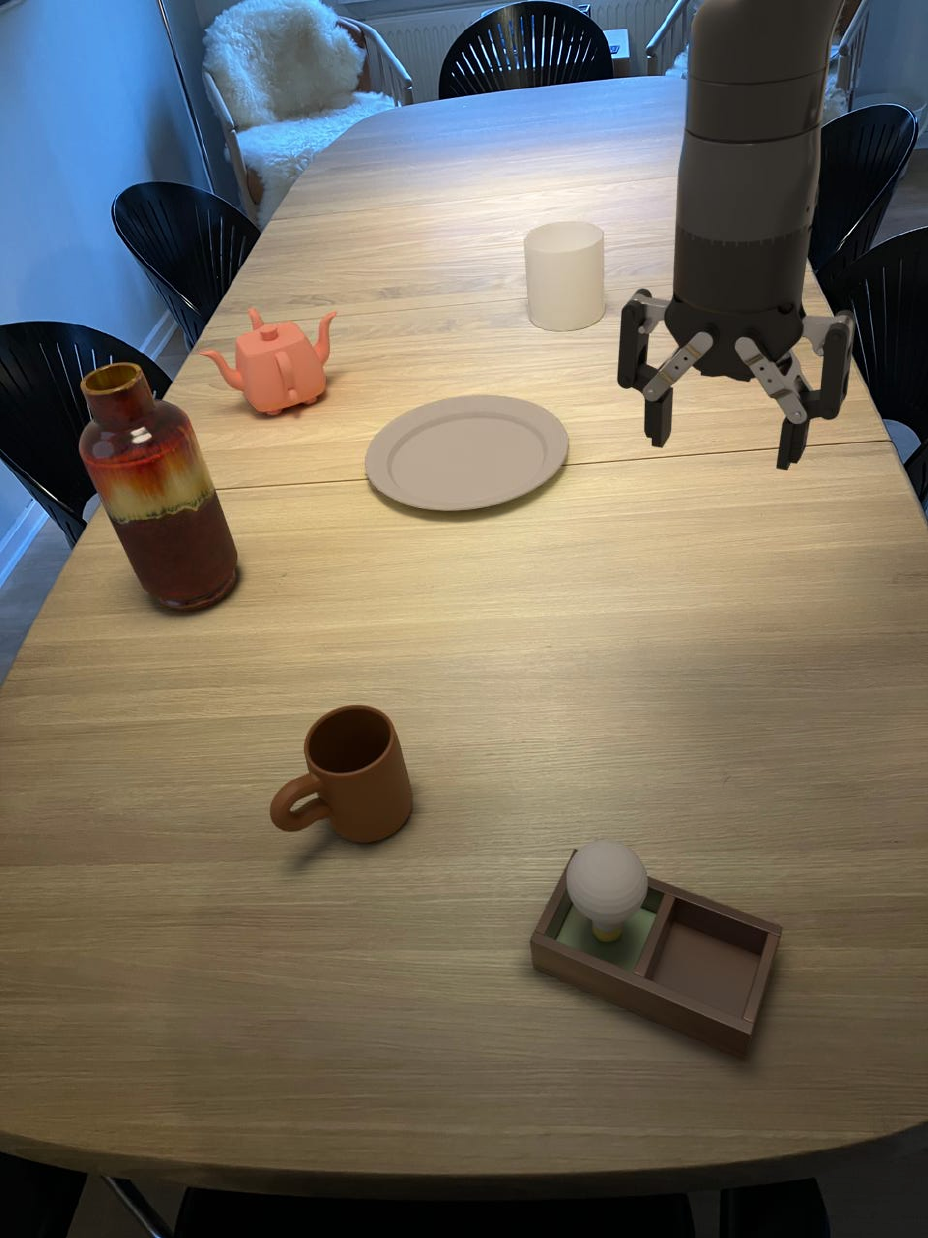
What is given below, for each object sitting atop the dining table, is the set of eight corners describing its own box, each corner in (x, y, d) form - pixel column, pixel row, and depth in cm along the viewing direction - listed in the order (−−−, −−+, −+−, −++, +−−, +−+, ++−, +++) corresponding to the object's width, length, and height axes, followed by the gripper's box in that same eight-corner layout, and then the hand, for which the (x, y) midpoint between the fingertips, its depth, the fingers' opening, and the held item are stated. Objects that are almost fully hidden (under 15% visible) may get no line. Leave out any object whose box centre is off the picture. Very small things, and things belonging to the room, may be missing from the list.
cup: (513, 318, 144) (507, 241, 136) (564, 290, 149) (561, 214, 141) (568, 338, 137) (565, 258, 129) (620, 309, 142) (620, 230, 134)
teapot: (219, 419, 131) (195, 348, 124) (268, 370, 141) (248, 301, 133) (308, 429, 126) (289, 355, 119) (353, 377, 136) (337, 306, 128)
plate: (433, 394, 129) (431, 381, 128) (602, 427, 118) (602, 413, 117) (327, 495, 114) (324, 481, 113) (509, 543, 103) (508, 529, 102)
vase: (264, 579, 104) (191, 368, 86) (181, 633, 99) (86, 420, 81) (210, 542, 110) (132, 338, 92) (130, 591, 105) (30, 385, 87)
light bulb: (652, 963, 66) (657, 890, 59) (576, 973, 66) (572, 901, 59) (636, 895, 70) (638, 818, 63) (564, 904, 70) (559, 829, 63)
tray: (576, 877, 72) (574, 848, 69) (776, 955, 66) (783, 926, 63) (532, 968, 67) (529, 940, 64) (744, 1061, 61) (750, 1035, 58)
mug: (322, 899, 73) (293, 832, 67) (268, 844, 78) (236, 776, 71) (432, 805, 79) (416, 735, 72) (376, 758, 83) (356, 688, 77)
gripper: (600, 225, 53) (603, 463, 64) (863, 245, 47) (816, 503, 58) (645, 179, 57) (641, 408, 68) (890, 192, 51) (842, 441, 62)
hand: (721, 452), depth 63 cm, fingers open, 8 cm apart
